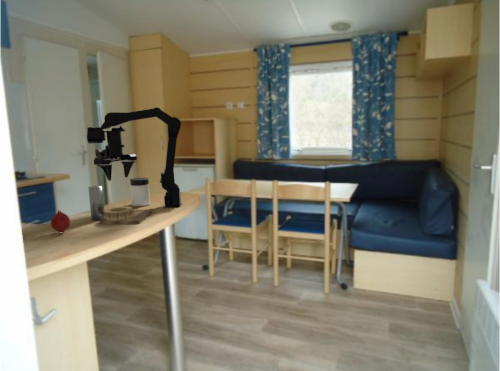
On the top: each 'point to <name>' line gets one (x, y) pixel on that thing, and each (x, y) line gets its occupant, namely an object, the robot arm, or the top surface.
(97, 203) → the chrome metal cylinder
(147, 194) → the jar
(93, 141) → the robot arm
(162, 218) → the top surface
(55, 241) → the top surface
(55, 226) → the pomegranate
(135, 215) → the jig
